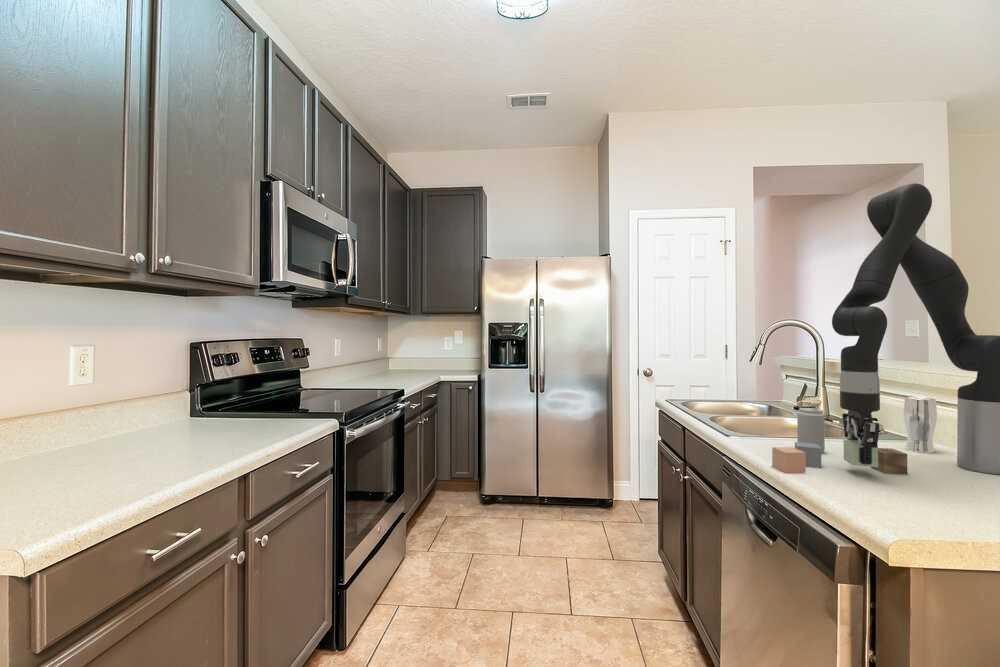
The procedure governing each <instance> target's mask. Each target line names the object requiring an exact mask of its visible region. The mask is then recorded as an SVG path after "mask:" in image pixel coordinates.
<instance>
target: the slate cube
mask: <svg viewBox="0 0 1000 667" xmlns="http://www.w3.org/2000/svg"><path fill="white" fill-rule="evenodd" d="M794 448H795V449H798V450H800V451H803V452H806V467H807V466H809V467H808V468H816V467H817V468H818V469H822V453H821V448H820V446H819V445H818V444H812V443H801V442H797V441H794Z"/></svg>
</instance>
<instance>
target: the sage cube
mask: <svg viewBox="0 0 1000 667" xmlns="http://www.w3.org/2000/svg"><path fill="white" fill-rule="evenodd" d="M867 442H868V441H867ZM859 448H860V447H859V443H858V440H847V439H843V460H844V461H845V462H847V463H848V464H850V466H851V465H852V466H854V467H855V466H857V467H869V468H871V467H878V448H879V445H877V448H873V449H872V464H862V463H860V462H859Z"/></svg>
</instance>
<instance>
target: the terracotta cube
mask: <svg viewBox="0 0 1000 667" xmlns="http://www.w3.org/2000/svg"><path fill="white" fill-rule="evenodd" d="M771 452H772V453H771V454H772V455H771V457H772V458H771V459H772V461H771V463H772V464H771V467H772V468H774V469H776V470H778V471H781V472H782V473H784V474H805V473H804V472H806V469H807V468H806V467H807V466H806V452H803V451H800V450H798V449H795V447H793V446H792V447H791V446H787V447H786V446H778V447H777V446H774V447H773V446H772V450H771Z"/></svg>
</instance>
